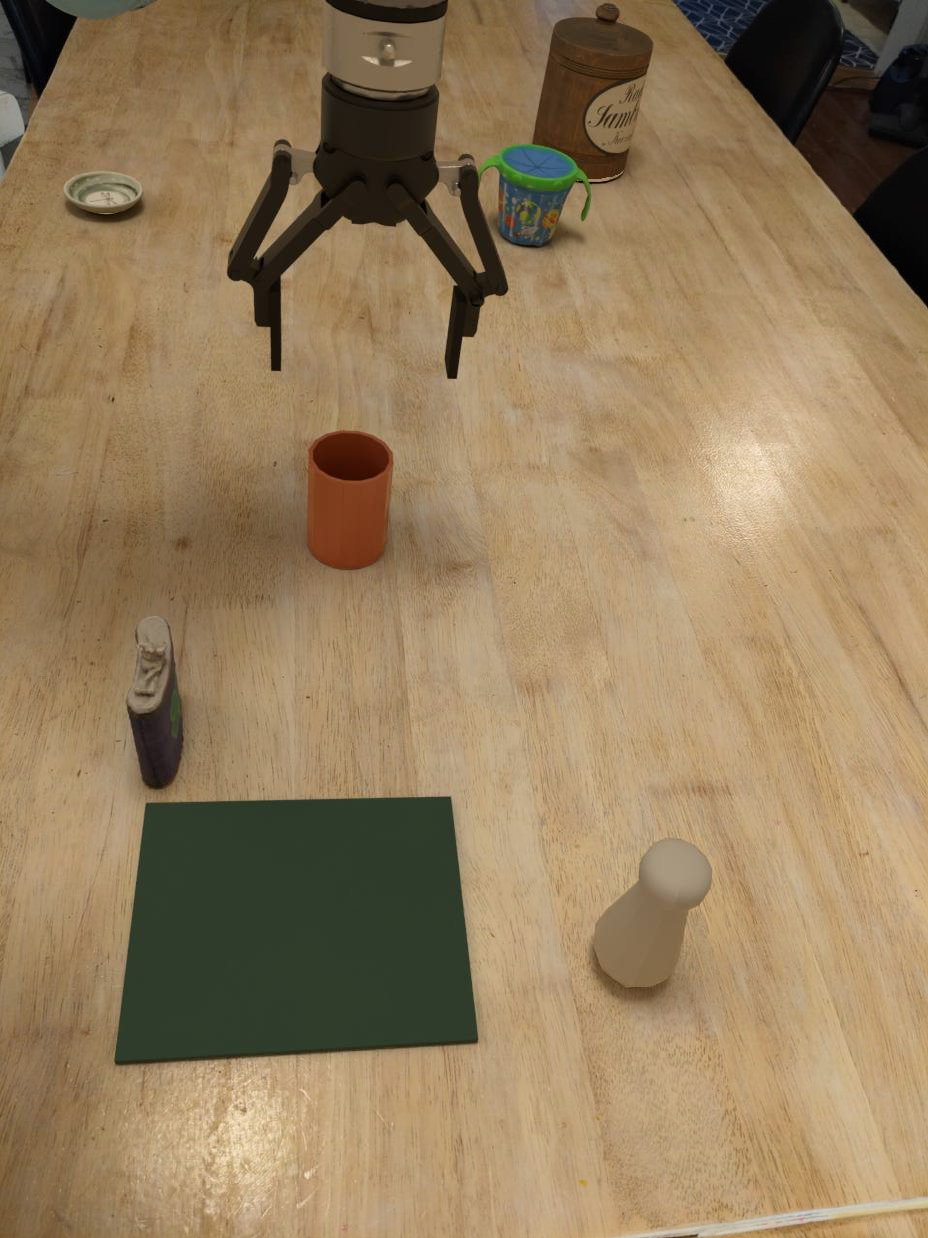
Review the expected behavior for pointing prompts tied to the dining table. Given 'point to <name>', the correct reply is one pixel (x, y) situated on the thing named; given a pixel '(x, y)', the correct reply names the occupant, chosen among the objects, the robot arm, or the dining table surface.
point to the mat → (295, 930)
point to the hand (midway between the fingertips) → (364, 365)
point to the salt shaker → (652, 915)
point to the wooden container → (593, 91)
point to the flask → (156, 704)
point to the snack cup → (533, 191)
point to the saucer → (103, 191)
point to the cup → (348, 498)
